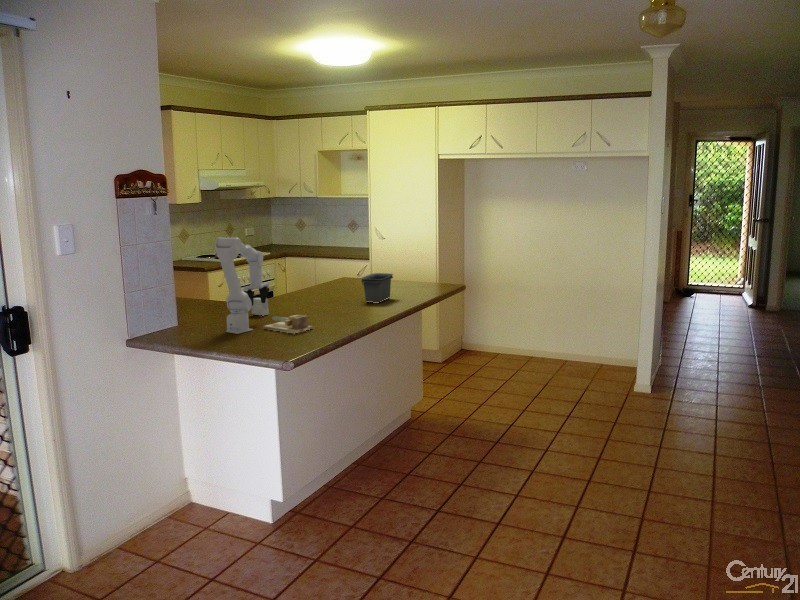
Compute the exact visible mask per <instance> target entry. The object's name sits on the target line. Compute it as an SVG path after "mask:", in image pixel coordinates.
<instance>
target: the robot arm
mask: <svg viewBox="0 0 800 600" xmlns="http://www.w3.org/2000/svg"><path fill="white" fill-rule="evenodd" d="M214 243H215V244H214V249H215V254H216V255H217V258H218V259H219V263H220V265H221V268H222V272H223V274H224V278H225V281H226V285H227V287H228V291H229V294H228V295H227V297H226V299H225V300H226V307H227V309H228V310H229V312H230V314H228V315H226V333H230V334H236V335H238V334H242V333H247V332H250V331H253V330H254V329H253V328H251V327H250V326H249V325H250V324H249V323H250V322H249V312H250V310H251V307H252V306H253V304H254V301H253V298H255V296H254V295H255V290H258V291H259V295H260V298H261V303H265V302H266V299H267V296H268V294H269V291H270V282H264V283H263V271H262V270H263V264H264V263H263V262H264V261H263V260H264V254H263V252H262V251H260V250H257V249H255V247H252V246H251V244H244V243H243V242H242V240H241V238H239V237H238V236H237V237H220V236H219V237H217V238H216V240H215V242H214ZM239 253H240V256H242V257H243V258H245V260H246V262H247V263H248V270H249V285H245V286H243V287H242V286H241V283H240V280H239V277H238V274H237V271H236V270H237V269H236V266H235V263H234V260H236V259H237V258H238V256H239ZM253 290H254V291H253Z"/></svg>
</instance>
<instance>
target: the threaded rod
mask: <svg viewBox="0 0 800 600" xmlns="http://www.w3.org/2000/svg"><path fill="white" fill-rule="evenodd" d="M271 319H272V321H275V322H285V321H287V320H289V317H282V316H277V315H273V316H272V317H271Z"/></svg>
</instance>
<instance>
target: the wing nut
mask: <svg viewBox="0 0 800 600" xmlns="http://www.w3.org/2000/svg"><path fill="white" fill-rule="evenodd" d="M298 316H302V315H301V314H294V315H289V316H288V318H289V320H287V321H285V326H289V327H290V328H292V318H294V317H298Z"/></svg>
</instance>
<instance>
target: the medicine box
mask: <svg viewBox="0 0 800 600" xmlns="http://www.w3.org/2000/svg"><path fill="white" fill-rule="evenodd" d="M253 301H254V304H253V306H252V307H251V309H250V310H251V315H252V314H255V315H262V316H264V315H268V314H269V315H270V311H269V298H266V302H265V303H261V297H254V298H253ZM269 315H268V316H269ZM262 316H261V317H262ZM264 317H265V316H264Z"/></svg>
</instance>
